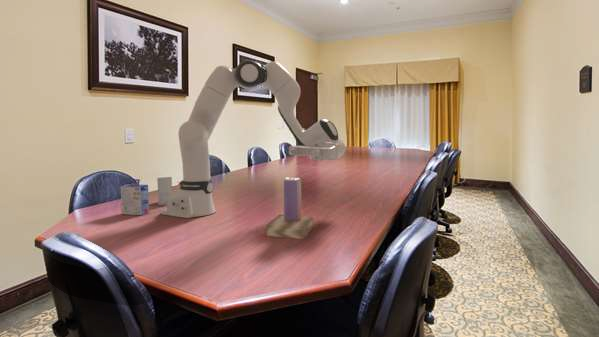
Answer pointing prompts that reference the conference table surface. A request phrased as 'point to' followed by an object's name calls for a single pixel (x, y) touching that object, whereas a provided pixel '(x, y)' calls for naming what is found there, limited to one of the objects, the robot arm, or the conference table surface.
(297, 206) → the beverage can
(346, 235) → the conference table surface
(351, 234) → the conference table surface
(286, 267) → the conference table surface
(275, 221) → the ash base block
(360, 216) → the conference table surface
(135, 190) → the ink cartridge box
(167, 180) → the small box
